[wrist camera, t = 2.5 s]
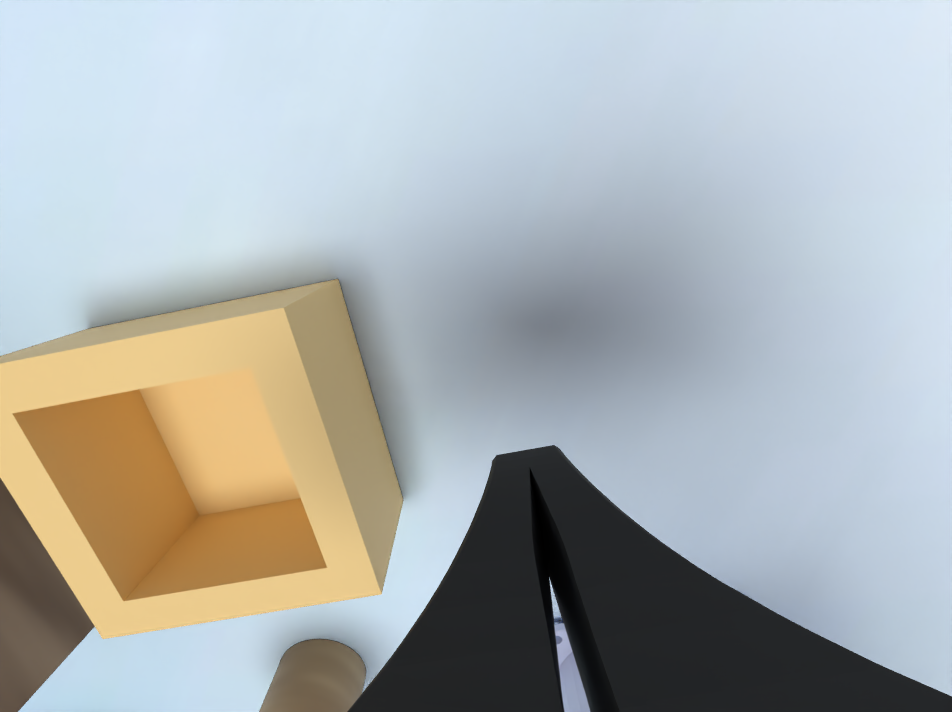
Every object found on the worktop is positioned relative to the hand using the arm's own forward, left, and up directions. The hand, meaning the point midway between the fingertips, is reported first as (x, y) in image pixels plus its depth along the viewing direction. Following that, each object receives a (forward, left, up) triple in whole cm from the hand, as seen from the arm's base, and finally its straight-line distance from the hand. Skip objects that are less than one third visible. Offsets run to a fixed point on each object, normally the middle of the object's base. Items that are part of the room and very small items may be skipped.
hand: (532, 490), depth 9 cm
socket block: (+9, 0, -7) cm, 12 cm away
